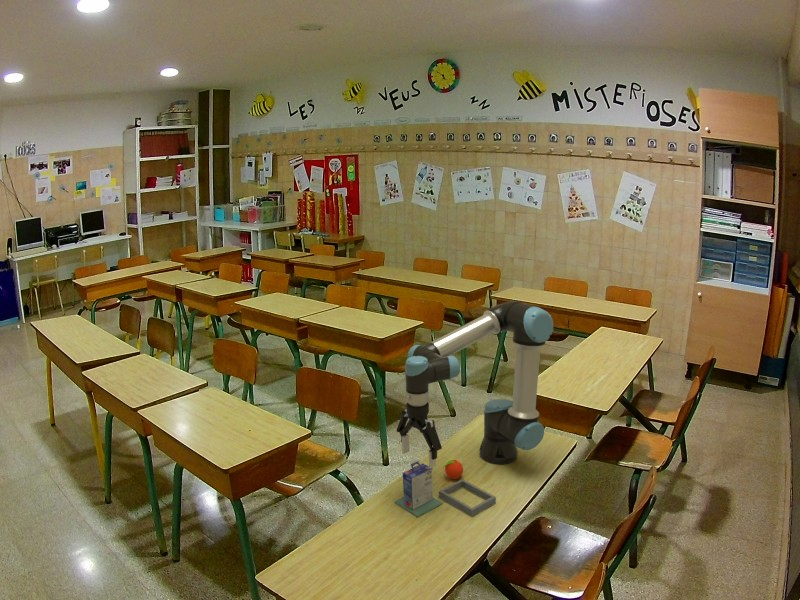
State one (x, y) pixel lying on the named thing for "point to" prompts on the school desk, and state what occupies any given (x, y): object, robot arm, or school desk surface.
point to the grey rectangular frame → (460, 505)
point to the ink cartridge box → (417, 485)
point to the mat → (420, 509)
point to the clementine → (453, 469)
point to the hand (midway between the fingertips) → (418, 459)
